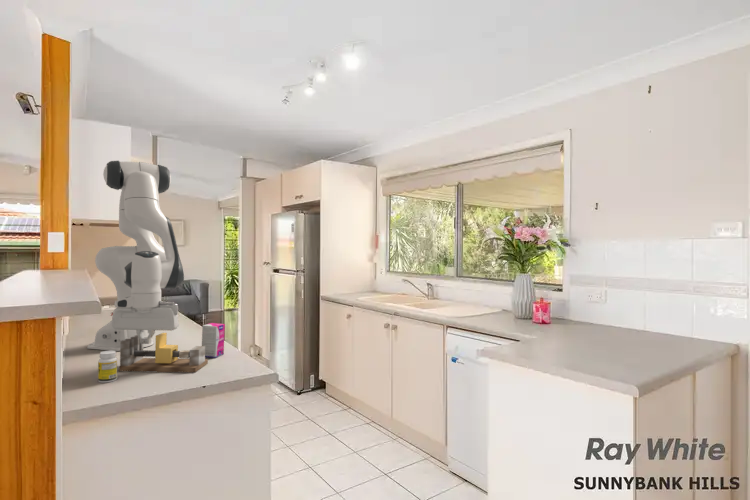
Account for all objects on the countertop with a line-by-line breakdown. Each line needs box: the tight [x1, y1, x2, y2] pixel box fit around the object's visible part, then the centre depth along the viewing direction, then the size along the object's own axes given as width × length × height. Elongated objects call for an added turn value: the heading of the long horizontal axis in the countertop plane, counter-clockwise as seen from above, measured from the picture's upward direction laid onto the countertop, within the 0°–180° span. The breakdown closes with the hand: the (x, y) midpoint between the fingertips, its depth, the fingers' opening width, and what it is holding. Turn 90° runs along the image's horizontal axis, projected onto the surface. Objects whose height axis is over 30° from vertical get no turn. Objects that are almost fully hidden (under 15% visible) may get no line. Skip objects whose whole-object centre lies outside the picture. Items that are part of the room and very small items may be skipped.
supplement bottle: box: [97, 350, 118, 384], centre depth 124 cm, size 5×5×8 cm
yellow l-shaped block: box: [154, 332, 179, 363], centre depth 138 cm, size 5×5×9 cm
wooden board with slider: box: [118, 335, 209, 373], centre depth 138 cm, size 24×10×9 cm, turn 91°
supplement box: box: [201, 322, 226, 359], centre depth 153 cm, size 6×6×12 cm
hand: (145, 343), depth 138 cm, fingers closed
